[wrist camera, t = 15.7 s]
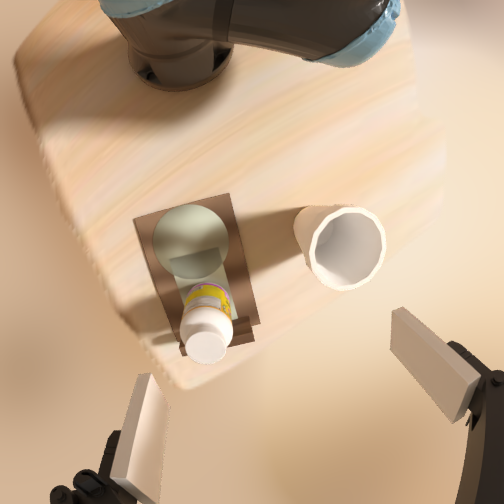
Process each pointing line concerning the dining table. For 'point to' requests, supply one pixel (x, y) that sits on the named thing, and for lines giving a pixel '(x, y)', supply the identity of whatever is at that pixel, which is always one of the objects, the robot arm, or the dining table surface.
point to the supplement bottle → (206, 323)
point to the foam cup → (340, 244)
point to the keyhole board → (199, 260)
